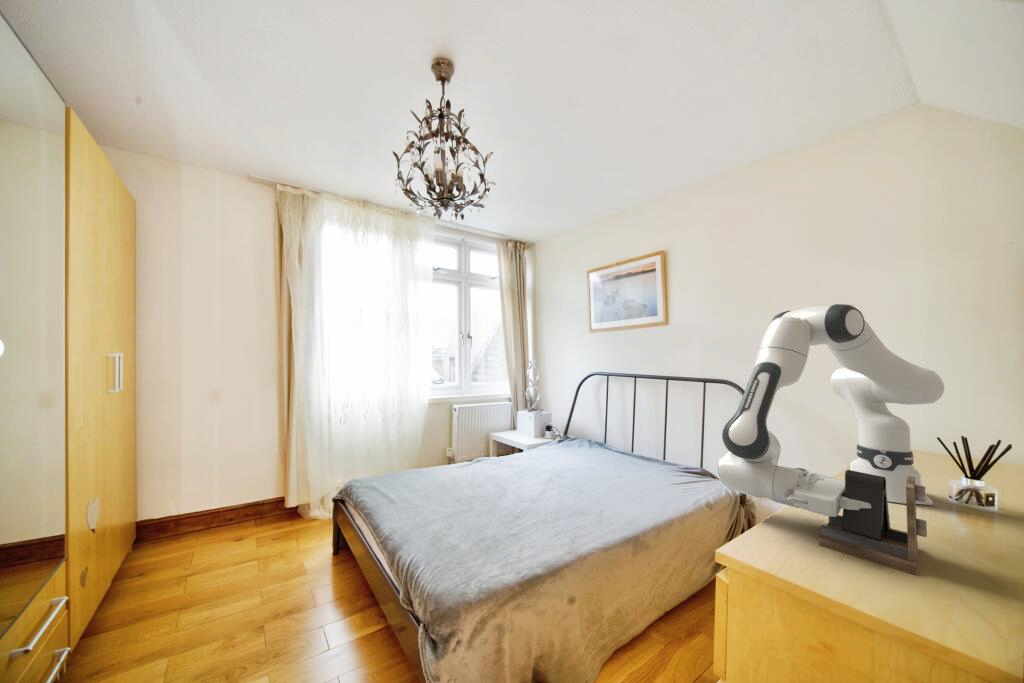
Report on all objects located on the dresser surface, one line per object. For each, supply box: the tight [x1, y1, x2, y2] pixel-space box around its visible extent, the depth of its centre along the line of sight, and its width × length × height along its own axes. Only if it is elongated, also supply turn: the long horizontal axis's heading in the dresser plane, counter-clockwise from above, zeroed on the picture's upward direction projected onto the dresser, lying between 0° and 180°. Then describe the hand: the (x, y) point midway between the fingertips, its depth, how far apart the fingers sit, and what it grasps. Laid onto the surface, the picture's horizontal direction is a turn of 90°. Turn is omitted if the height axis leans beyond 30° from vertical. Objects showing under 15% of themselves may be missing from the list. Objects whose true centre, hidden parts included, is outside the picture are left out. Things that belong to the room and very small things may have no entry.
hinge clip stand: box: [818, 476, 928, 576], centre depth 77 cm, size 15×15×16 cm
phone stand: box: [842, 469, 891, 541], centre depth 78 cm, size 9×6×12 cm, turn 124°
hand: (872, 505), depth 77 cm, fingers open, 3 cm apart
